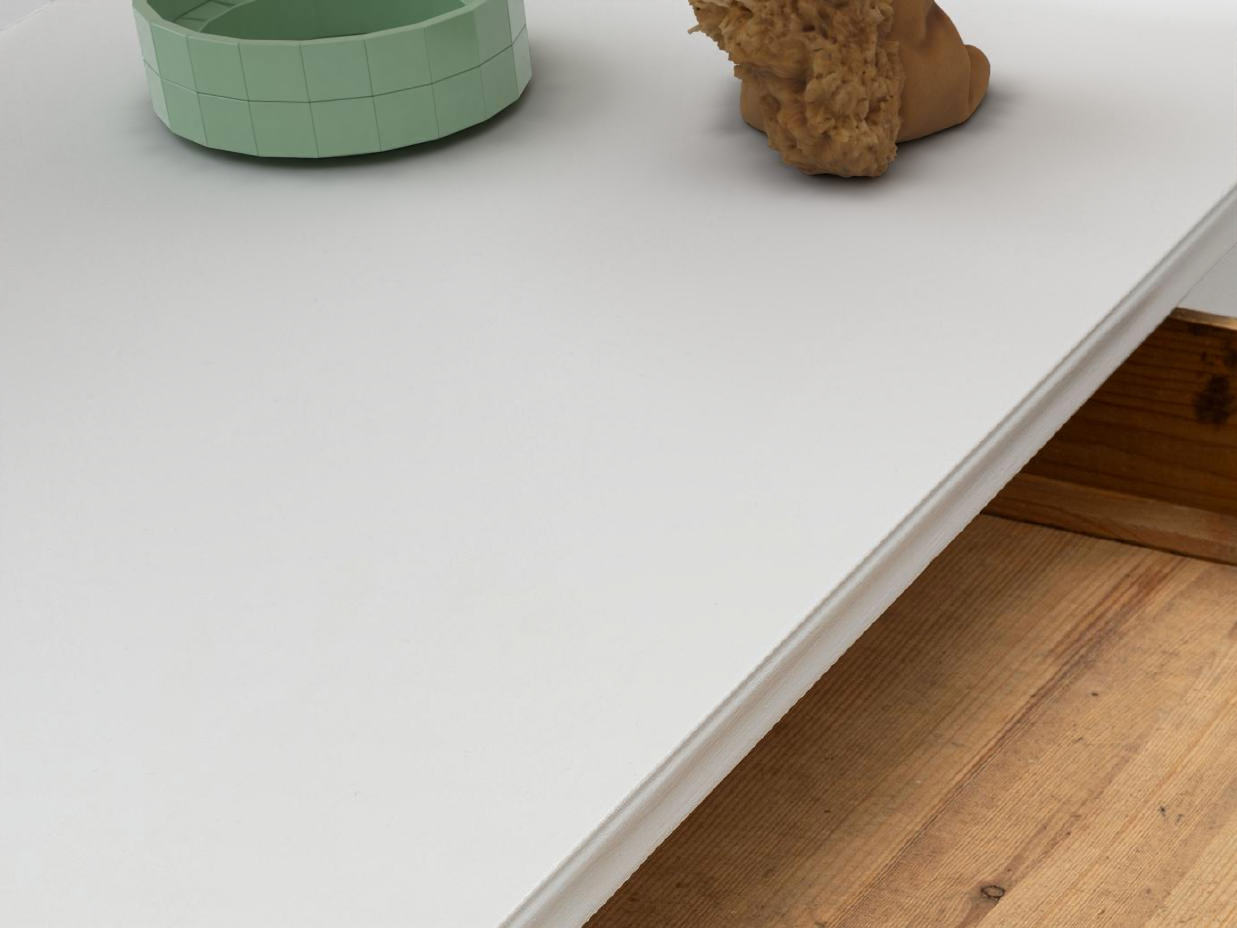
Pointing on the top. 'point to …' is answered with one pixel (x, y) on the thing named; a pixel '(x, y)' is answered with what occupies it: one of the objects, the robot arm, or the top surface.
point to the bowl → (330, 71)
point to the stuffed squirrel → (845, 76)
